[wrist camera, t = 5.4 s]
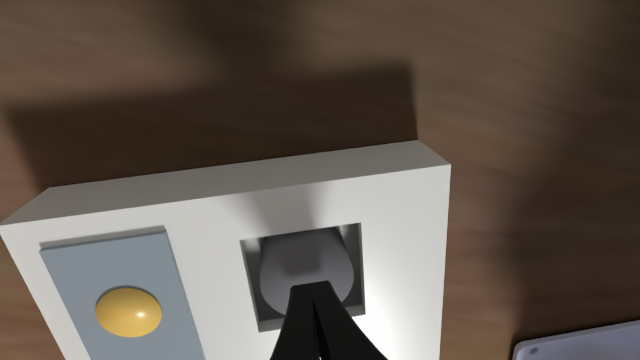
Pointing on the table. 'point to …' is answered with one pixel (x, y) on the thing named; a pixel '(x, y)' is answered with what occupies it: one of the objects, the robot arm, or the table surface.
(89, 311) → the button board
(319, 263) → the button
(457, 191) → the table surface
